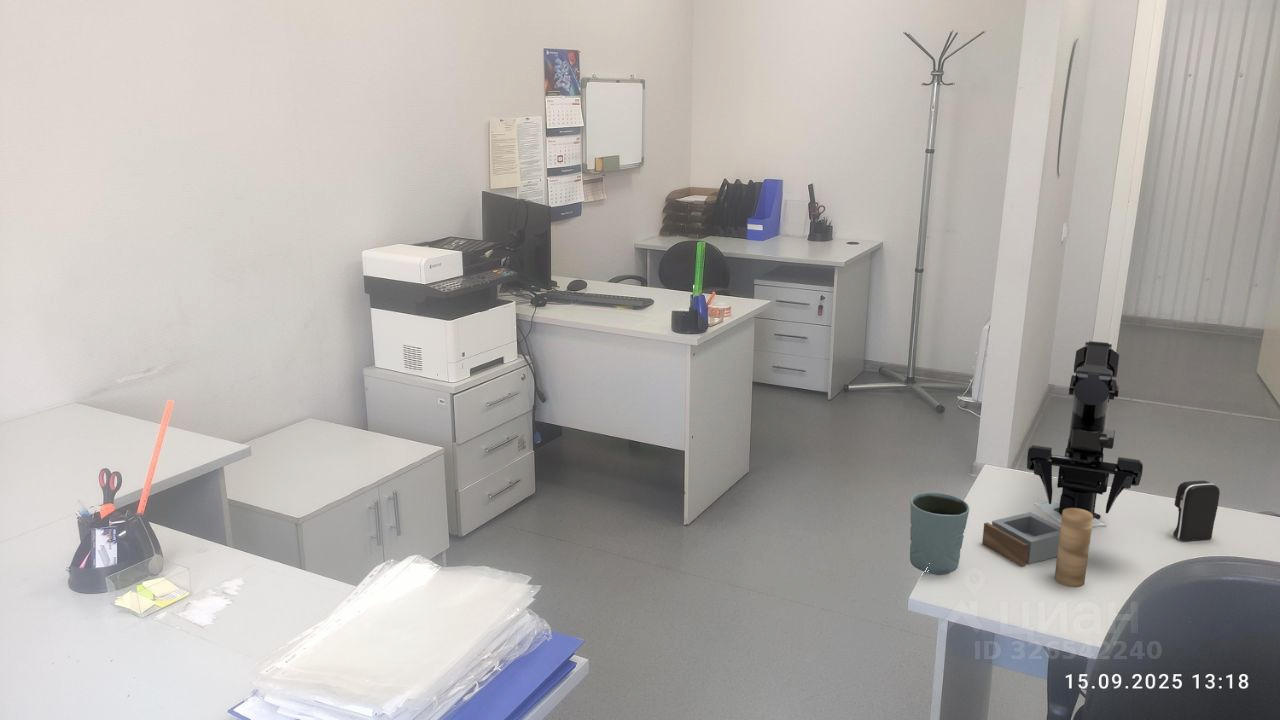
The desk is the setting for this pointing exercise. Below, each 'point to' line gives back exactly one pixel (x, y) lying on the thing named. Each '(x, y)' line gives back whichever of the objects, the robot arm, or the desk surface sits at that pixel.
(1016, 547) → the backstop wall
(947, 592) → the desk surface
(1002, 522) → the socket block
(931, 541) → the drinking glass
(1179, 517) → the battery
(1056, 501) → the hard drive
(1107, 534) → the desk surface
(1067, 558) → the oak dowel
